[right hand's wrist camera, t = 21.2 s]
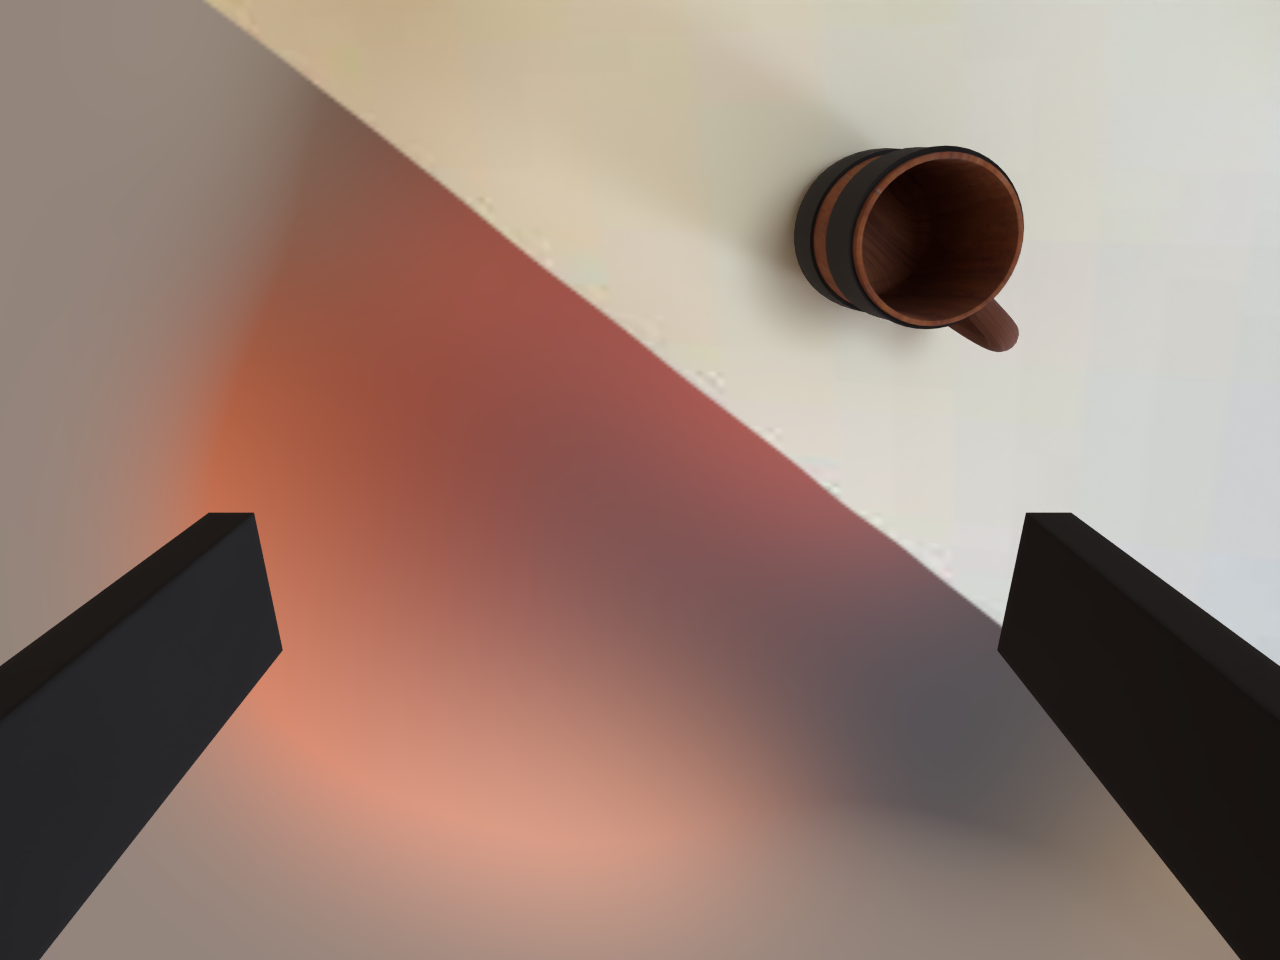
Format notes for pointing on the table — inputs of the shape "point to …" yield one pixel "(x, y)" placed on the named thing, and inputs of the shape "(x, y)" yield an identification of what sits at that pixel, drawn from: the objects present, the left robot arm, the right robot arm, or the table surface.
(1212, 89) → the table surface
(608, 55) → the table surface
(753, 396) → the table surface
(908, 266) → the mug
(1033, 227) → the table surface
